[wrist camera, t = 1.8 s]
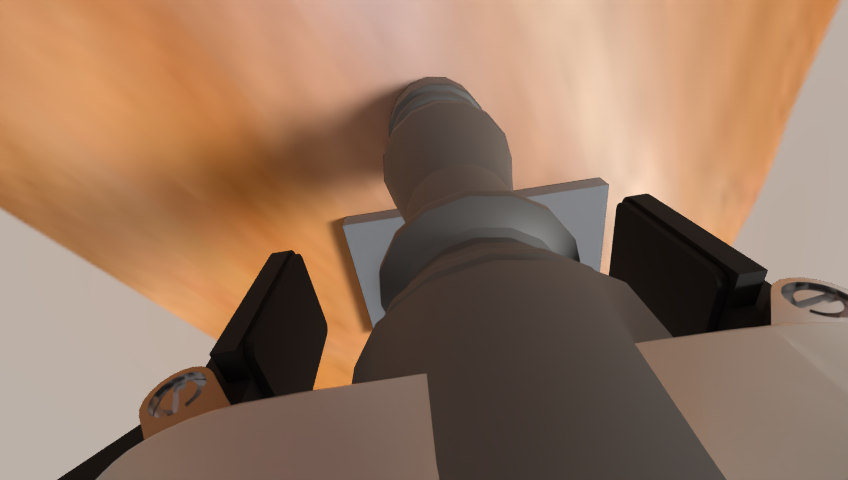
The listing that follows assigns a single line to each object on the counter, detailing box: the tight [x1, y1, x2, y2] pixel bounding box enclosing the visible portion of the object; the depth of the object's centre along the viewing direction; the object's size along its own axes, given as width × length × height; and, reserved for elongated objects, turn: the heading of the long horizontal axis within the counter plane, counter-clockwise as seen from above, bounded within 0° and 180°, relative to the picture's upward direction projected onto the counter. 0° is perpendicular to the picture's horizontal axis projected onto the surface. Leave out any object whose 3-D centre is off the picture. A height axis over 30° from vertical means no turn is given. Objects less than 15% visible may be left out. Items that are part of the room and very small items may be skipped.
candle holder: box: [352, 77, 726, 480], centre depth 15 cm, size 6×6×25 cm
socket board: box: [343, 177, 609, 328], centre depth 30 cm, size 20×12×5 cm, turn 99°
